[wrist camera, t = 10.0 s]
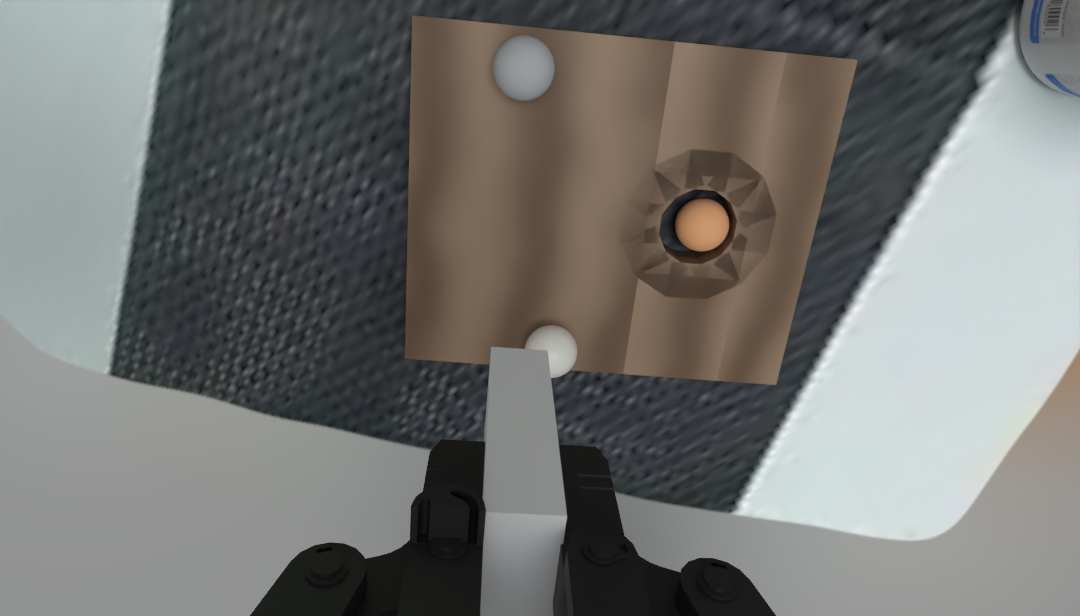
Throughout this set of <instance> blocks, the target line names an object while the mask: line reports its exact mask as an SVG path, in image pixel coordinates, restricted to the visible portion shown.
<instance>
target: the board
mask: <svg viewBox="0 0 1080 616" xmlns="http://www.w3.org/2000/svg"><path fill="white" fill-rule="evenodd" d="M519 35H528V36H532V37H535V38H537V39H539V40H540V41H542V42H543V43H544V44H545V45H546V46H547V47H548V48H549V50H550V52H551V54H552V56H553V59H554V64H555V72H554V77H553V80H552V83H551V85H550V86H549V88H548V89H547V91H546V92H545V93H544V94H542V95H541V96H539V97H538V98H535V99H533V100H528V101H520V100H515V99H513V98H510V97H509V96H507V95H506V94H505V93H503V92H502V91H501V89H500V88H499V87H498V85H497V83H496V81H495V79H494V75H493V61H494V57H495V54H496V52H497V50H498V49H499V47H500V46H501V45H502V44H503V43H504V42H505V41H507V40H508V39H510V38H512V37H515V36H519ZM856 64H857V60H852V59H842V58H832V57H822V56H812V55H802V54H792V53H782V52H773V51H763V50H753V49H743V48H733V47H723V46H713V45H703V44H693V43H683V42H673V41H663V40H653V39H643V38H633V37H623V36H613V35H603V34H593V33H583V32H574V31H564V30H554V29H544V28H534V27H524V26H514V25H504V24H494V23H484V22H474V21H464V20H454V19H444V18H434V17H424V16H414V15H412V45H411V92H410V139H409V186H408V232H407V279H406V326H405V359H417V360H431V361H445V362H459V363H473V364H488V365H490V355H491V347H503V348H518V349H525V345H526V342H527V340H528V338H529V336H530V335H531V334H532V333H533V332H534V331H535V330H536V329H538V328H540V327H542V326H546V325H556V326H560V327H562V328H564V329H566V330H567V331H568V332H569V333H570V334H571V335H572V336H573V338H574V339H575V342H576V345H577V358H576V361H575V364H574V365H573V367H572V368H571V369H570V370H573V371H587V372H601V373H615V374H629V375H643V376H658V377H672V378H686V379H700V380H714V381H728V382H742V383H757V384H771V385H776V383H777V379H778V375H779V371H780V367H781V363H782V359H783V355H784V351H785V347H786V343H787V339H788V335H789V331H790V327H791V323H792V319H793V315H794V311H795V307H796V303H797V299H798V295H799V291H800V287H801V283H802V279H803V275H804V271H805V267H806V263H807V259H808V256H809V252H810V248H811V244H812V240H813V236H814V232H815V228H816V224H817V220H818V216H819V212H820V208H821V204H822V200H823V196H824V192H825V188H826V184H827V180H828V176H829V172H830V168H831V164H832V160H833V156H834V152H835V148H836V144H837V140H838V136H839V132H840V128H841V124H842V120H843V116H844V112H845V108H846V104H847V100H848V96H849V92H850V88H851V84H852V80H853V76H854V72H855V68H856ZM694 189H699V190H711V191H716V192H717V193H719V194H720V197H721V199H722V202H723V205H724V208H725V211H726V212H727V215H728V218H729V231H728V234H727V236H726V238H725V239H724V241H723V242H722V243H721V244H720V245H719V246H717V247H716V248H714V249H712V250H709V251H702V252H701V251H692V252H687V251H675V250H672V249H670V248H669V247H667V246H666V245H665V244H663V243H662V241H661V238H660V236H659V230H660V224H661V218H662V214H663V213H664V211H665V210H666V209H667V208H668V206H669V205H670V204H671V202H672V201H673V200H674V199H675V198H676V197H678V196H680V195H683V194H685V193H687V192H689V191H691V190H694Z"/></svg>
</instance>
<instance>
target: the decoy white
mask: <svg viewBox="0 0 1080 616" xmlns="http://www.w3.org/2000/svg"><path fill="white" fill-rule="evenodd" d="M525 349H532V350H547V351H548V358H549V366H550V375H551V378H556V377H560V376H562V375H564V374H566V373H567V372H568V371H569V370H570V369H571V368H572V367H573V365H574V364H575V361H576V358H577V345H576V342H575V339H574V338H573V336H572V335H571V334H570V333H569V332H568V331H567V330H566V329H564V328H562V327H560V326H556V325H546V326H542V327H540V328H538V329H536V330H535V331H534V332H533V333H532V334H531V335H530V336H529V338H528V340H527V342H526V345H525Z"/></svg>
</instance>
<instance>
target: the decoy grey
mask: <svg viewBox="0 0 1080 616" xmlns="http://www.w3.org/2000/svg"><path fill="white" fill-rule="evenodd" d="M554 72H555V64H554V59H553V56H552V54H551V52H550V50H549V48H548V47H547V46H546V45H545V44H544V43H543V42H542V41H540V40H539V39H537V38H535V37H532V36H528V35H519V36H515V37H512V38H510V39H508V40H507V41H505V42H504V43H503V44H502V45H501V46H500V47H499V49H498V50H497V52H496V54H495V57H494V61H493V75H494V79H495V81H496V83H497V85H498V87H499V88H500V89H501V91H502V92H503V93H505V94H506V95H507V96H509V97H510V98H513V99H515V100H520V101H528V100H533V99H535V98H538V97H539V96H541V95H542V94H544V93H545V92H546V91H547V89H548V88H549V86H550V85H551V83H552V80H553V77H554Z"/></svg>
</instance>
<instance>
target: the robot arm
mask: <svg viewBox="0 0 1080 616" xmlns="http://www.w3.org/2000/svg"><path fill="white" fill-rule="evenodd" d="M410 528H411V529H410V540H409V541H408V542H407V543H406V544H405V545H404V546H402V547H401V548H399V549H397V550H395V551H393V552H391V553H388V554H385V555H381V556H377V557H372V558H367V559H365V558H364V556H363V555H362V554H361V553H360V552H359V551H358V550H357V549H356V548H354V547H351V546H349V545H346V544H342V543H325V544H320V545H315V546H313V547H310V548H308V549H307V550H304V551H302V552H300V553H299V554H298V555H297V556H296V557H295V558H294V559H293V560H292V561H291V562H290V563H289V564H288V566H287V567H286V568H285V570H284V571H283V572H282V574H281V575H280V576H279V578H278V579H277V580H276V582H275V583H274V585H273V586H272V587H271V588H270V590H269V591H268V593H267V594H266V595H265V596H264V598H263V599H262V600H261V602H260V603H259V604H258V606H257V607H256V608H255V610H254V611H253V612H252V614H251V615H250V616H553V614H554V616H776V615H775V614H774V612H773V611H772V610H771V608H770V607H769V606H768V604H767V603H766V601H765V600H764V599H763V597H762V596H761V595H760V593H759V592H758V590H757V589H756V588H755V586H754V585H753V584H752V582H751V581H750V580H749V579H748V578H747V577H746V576H745V575H744V574H743V573H742V572H741V571H740V570H739V569H737V568H736V567H734V566H732V565H731V564H729V563H727V562H724V561H721V560H717V559H714V558H698V559H695V560H692V561H689V562H688V563H687V564H686V565H685V566H684V567H683V568H682V569H681V573H680V572H677V571H673V570H670V569H667V568H663V567H660V566H657V565H655V564H652V563H650V562H648V561H646V560H645V559H643V558H641V557H640V556H638V553H637V551H636V549H635V547H634V545H633V544H632V542H630V541H629V540H628V539H627V538H626V537H625V536H624V533H623V529H622V524H621V519H620V514H619V510H618V505H617V501H616V497H615V492H614V487H613V483H612V479H611V474H610V470H609V465H608V461H607V460H606V458H605V457H604V456H603V455H602V454H601V453H600V451H599V450H598V449H597V448H596V447H590V446H573V445H559V443H558V434H557V426H556V417H555V409H554V400H553V392H552V383H551V375H550V366H549V358H548V351H547V350H532V349H518V348H503V347H491V355H490V368H489V380H488V393H487V406H486V419H485V432H484V442H477V441H460V440H441V441H440V442H439V443H438V444H437V445H436V446H435V447H434V448H433V449H432V451H431V452H430V455H429V460H428V466H427V471H426V477H425V483H424V488H423V492H422V493H420V494H419V495H418V496H417V497H416V498H415V500H414V501H413V503H412V505H411V526H410Z"/></svg>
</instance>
